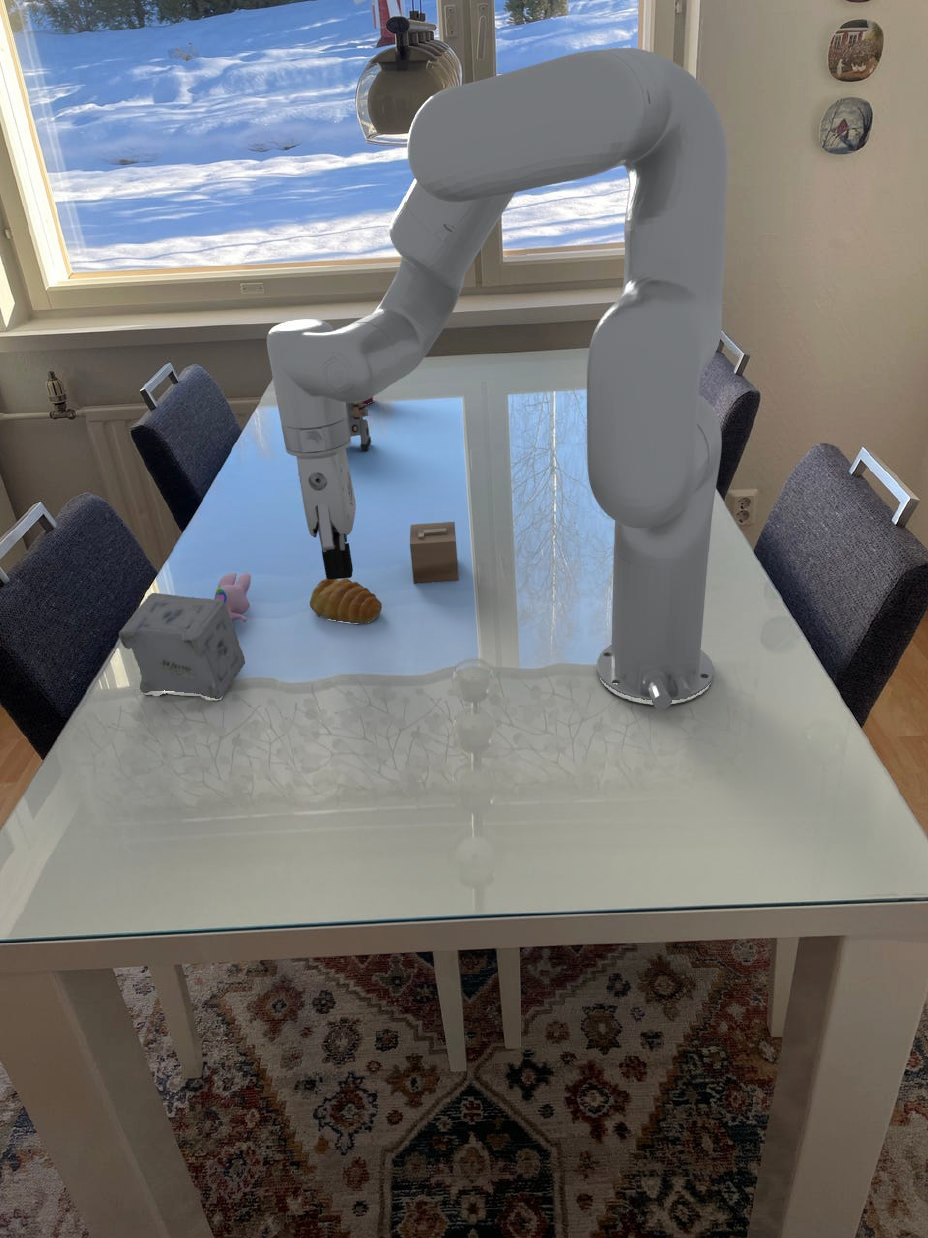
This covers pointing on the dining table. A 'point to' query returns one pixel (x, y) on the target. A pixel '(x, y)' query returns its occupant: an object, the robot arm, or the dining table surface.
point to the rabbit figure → (234, 594)
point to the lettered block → (433, 552)
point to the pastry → (344, 601)
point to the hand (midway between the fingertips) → (339, 575)
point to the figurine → (358, 423)
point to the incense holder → (184, 645)
